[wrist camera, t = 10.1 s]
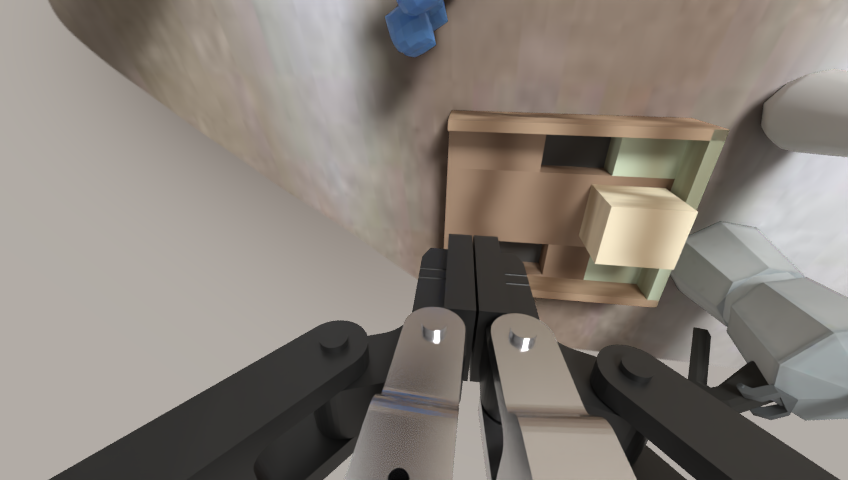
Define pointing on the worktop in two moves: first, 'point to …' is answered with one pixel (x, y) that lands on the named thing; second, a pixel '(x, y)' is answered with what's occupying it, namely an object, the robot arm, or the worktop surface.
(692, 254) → the coffee maker
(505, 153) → the box
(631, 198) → the birch block
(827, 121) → the salt shaker
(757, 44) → the worktop surface
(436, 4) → the grapes
